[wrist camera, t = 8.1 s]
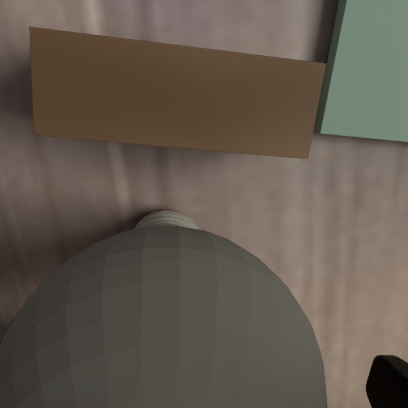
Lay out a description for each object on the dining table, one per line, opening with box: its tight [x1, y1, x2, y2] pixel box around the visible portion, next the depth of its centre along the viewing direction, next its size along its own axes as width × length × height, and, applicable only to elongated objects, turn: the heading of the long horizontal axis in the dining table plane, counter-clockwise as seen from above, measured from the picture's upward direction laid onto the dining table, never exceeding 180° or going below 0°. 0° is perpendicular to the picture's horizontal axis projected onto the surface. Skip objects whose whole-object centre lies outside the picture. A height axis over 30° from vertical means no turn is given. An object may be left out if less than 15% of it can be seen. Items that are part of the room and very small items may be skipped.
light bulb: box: [0, 210, 327, 408], centre depth 9 cm, size 6×6×10 cm
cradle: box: [29, 27, 326, 159], centre depth 12 cm, size 13×7×4 cm, turn 174°
